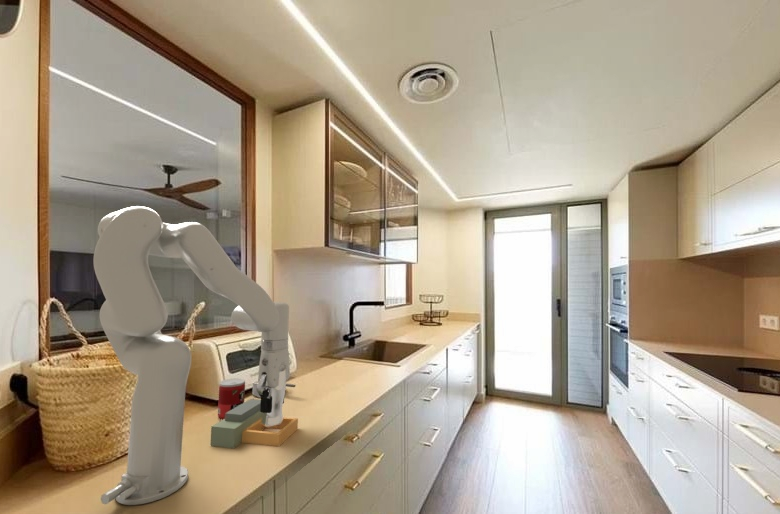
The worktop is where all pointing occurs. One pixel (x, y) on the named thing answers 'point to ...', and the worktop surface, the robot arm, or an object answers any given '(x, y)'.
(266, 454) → the worktop surface
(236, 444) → the stepped block with tray
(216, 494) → the worktop surface
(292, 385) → the saucepan
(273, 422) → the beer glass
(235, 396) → the canned food
